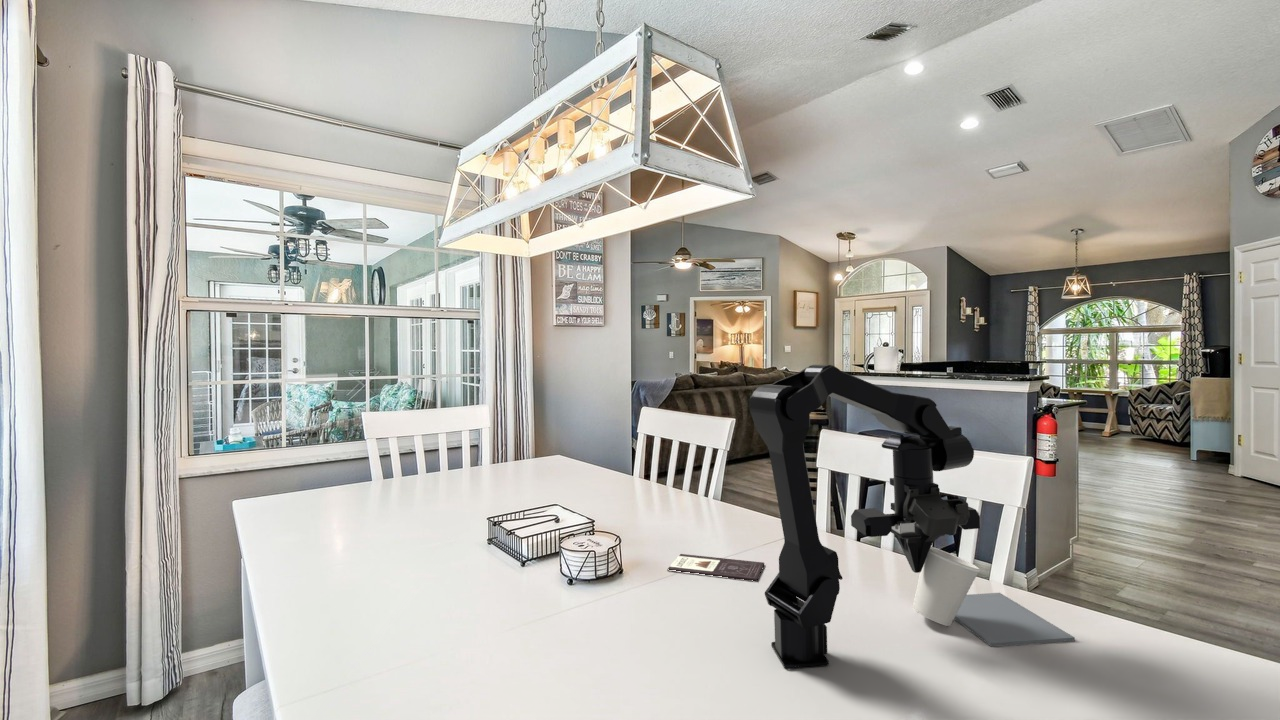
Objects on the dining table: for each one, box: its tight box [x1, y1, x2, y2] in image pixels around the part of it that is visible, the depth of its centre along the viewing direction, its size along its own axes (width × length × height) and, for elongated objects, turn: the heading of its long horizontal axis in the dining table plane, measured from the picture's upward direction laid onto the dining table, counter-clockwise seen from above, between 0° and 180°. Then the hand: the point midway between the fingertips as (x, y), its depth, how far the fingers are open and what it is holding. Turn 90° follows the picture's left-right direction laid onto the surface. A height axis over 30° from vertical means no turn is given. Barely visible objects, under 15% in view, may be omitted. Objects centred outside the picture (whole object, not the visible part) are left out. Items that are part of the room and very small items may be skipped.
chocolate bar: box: [667, 553, 765, 582], centre depth 118 cm, size 9×1×18 cm
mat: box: [953, 592, 1076, 647], centre depth 93 cm, size 13×16×1 cm
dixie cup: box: [912, 546, 981, 627], centre depth 92 cm, size 8×8×10 cm
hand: (916, 571), depth 92 cm, fingers closed
